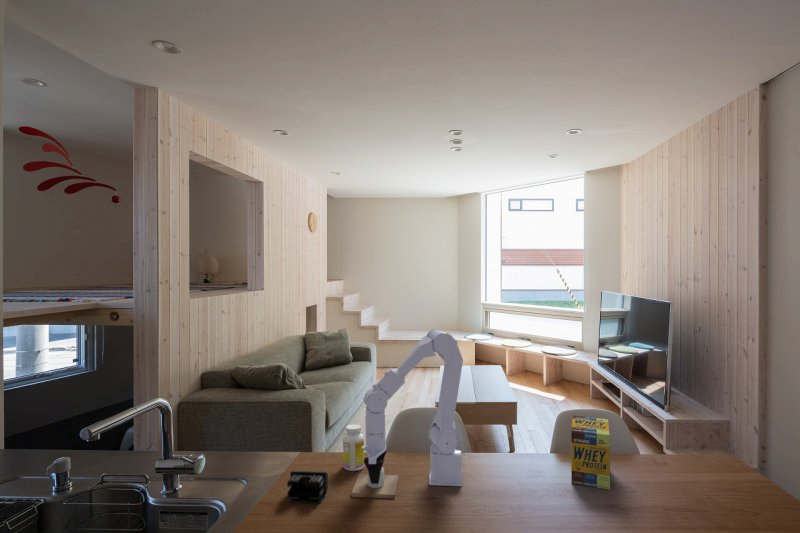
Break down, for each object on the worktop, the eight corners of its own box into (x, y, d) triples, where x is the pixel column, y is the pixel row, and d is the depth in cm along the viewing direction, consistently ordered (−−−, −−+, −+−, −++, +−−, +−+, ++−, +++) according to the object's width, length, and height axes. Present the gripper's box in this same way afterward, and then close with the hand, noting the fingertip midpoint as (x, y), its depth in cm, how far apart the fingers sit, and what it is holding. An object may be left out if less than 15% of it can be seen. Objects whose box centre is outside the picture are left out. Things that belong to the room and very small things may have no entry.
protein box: (571, 484, 137) (570, 430, 137) (573, 463, 151) (572, 414, 151) (610, 490, 133) (610, 435, 133) (609, 468, 148) (608, 418, 148)
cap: (384, 480, 139) (384, 464, 139) (383, 487, 134) (382, 471, 134) (369, 480, 139) (369, 463, 139) (366, 487, 135) (366, 470, 135)
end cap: (328, 491, 134) (328, 467, 134) (322, 504, 127) (321, 479, 127) (294, 490, 135) (293, 467, 135) (285, 503, 128) (285, 478, 128)
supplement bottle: (366, 463, 153) (365, 423, 153) (362, 472, 147) (362, 430, 147) (345, 462, 154) (345, 423, 154) (341, 471, 147) (340, 430, 147)
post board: (399, 478, 142) (398, 467, 142) (394, 498, 130) (394, 485, 130) (359, 477, 143) (359, 466, 143) (351, 496, 131) (351, 484, 131)
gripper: (365, 423, 144) (366, 467, 144) (357, 440, 130) (358, 490, 130) (388, 423, 144) (389, 468, 144) (383, 441, 129) (383, 491, 129)
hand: (376, 479), depth 137 cm, fingers closed on cap, 5 cm apart
